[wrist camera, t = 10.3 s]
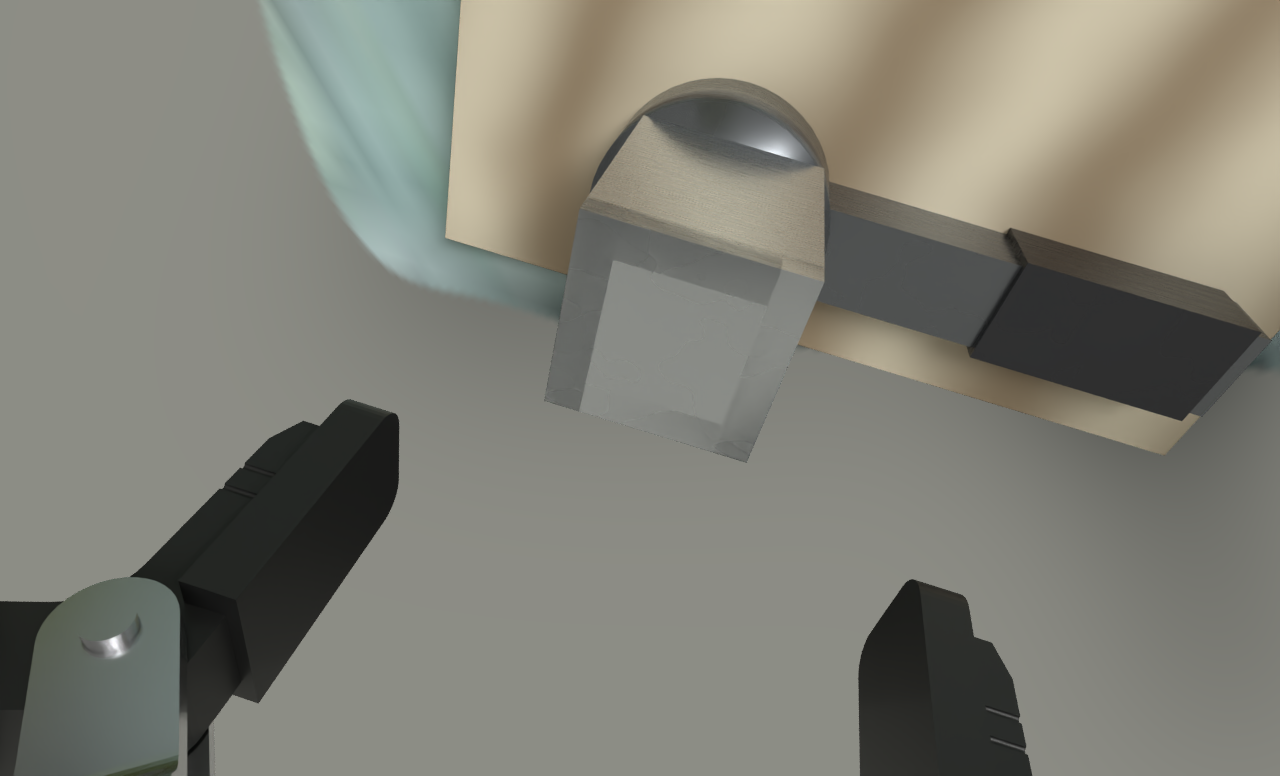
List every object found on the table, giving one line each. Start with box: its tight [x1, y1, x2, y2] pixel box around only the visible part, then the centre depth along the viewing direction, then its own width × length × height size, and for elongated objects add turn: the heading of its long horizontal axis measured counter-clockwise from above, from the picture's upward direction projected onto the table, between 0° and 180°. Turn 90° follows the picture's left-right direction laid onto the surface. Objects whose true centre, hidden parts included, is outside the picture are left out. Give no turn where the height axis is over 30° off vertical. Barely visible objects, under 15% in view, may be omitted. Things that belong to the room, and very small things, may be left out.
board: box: [445, 0, 1280, 455], centre depth 19 cm, size 24×16×1 cm, turn 77°
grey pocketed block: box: [544, 115, 825, 462], centre depth 17 cm, size 5×5×6 cm
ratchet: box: [589, 78, 1272, 421], centre depth 19 cm, size 18×6×7 cm, turn 77°
